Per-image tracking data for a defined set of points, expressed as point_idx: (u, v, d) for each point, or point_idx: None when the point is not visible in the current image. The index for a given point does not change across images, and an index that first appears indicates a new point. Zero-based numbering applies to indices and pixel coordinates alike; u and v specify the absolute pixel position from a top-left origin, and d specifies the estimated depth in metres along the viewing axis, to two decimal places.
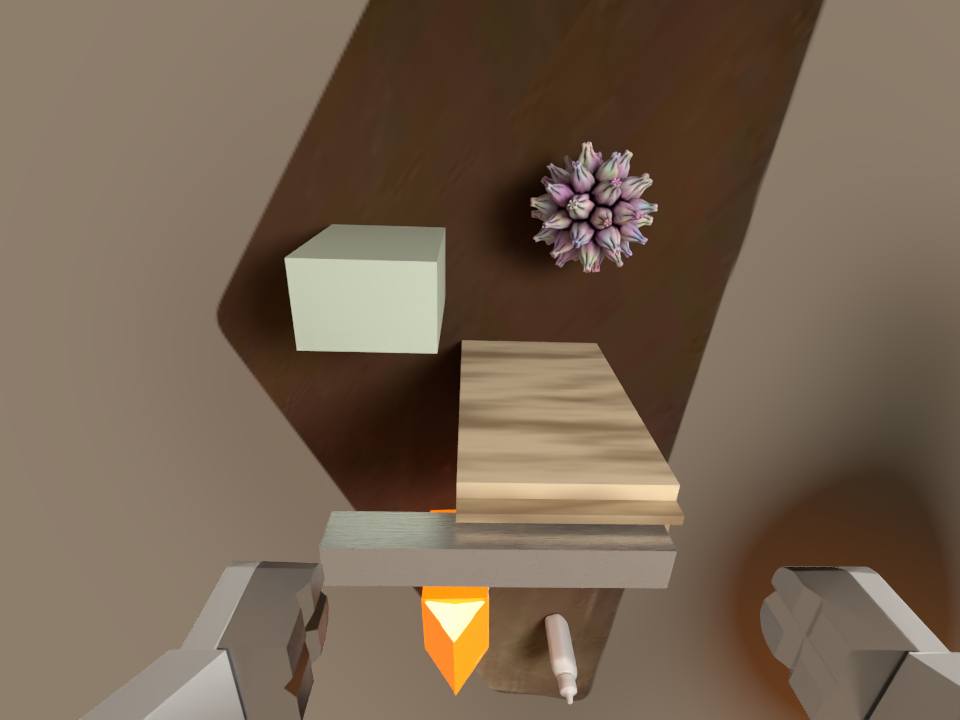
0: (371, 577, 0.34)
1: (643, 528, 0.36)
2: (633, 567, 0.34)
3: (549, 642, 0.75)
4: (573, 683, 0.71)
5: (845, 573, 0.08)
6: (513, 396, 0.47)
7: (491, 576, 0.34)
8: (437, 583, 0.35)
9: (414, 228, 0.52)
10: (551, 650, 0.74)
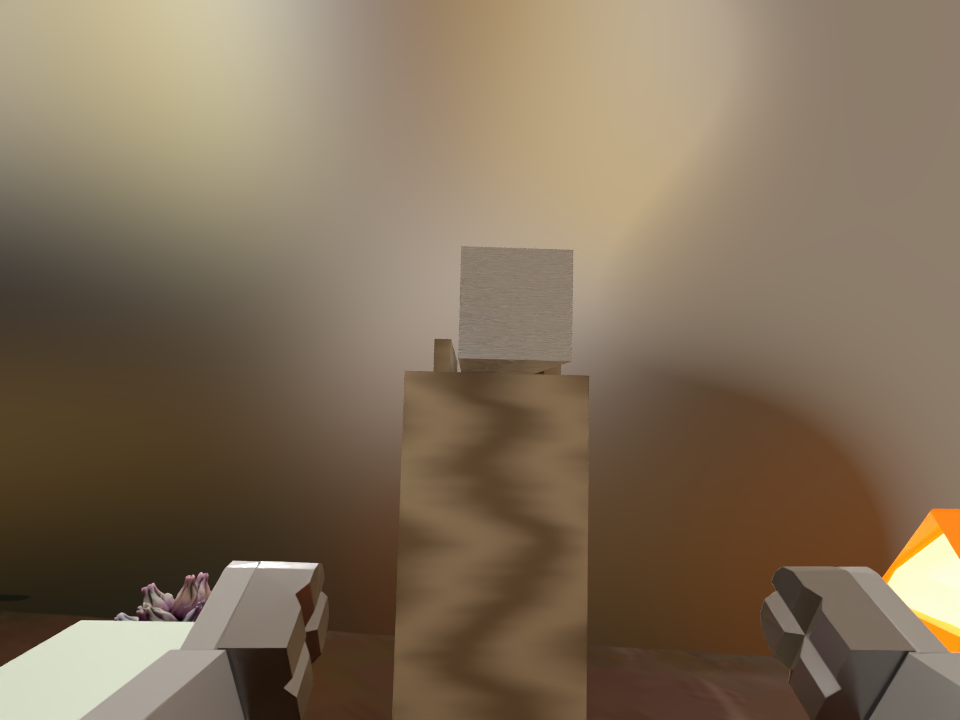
0: None
1: None
2: None
3: None
4: None
5: (845, 573, 0.08)
6: None
7: None
8: None
9: None
10: None
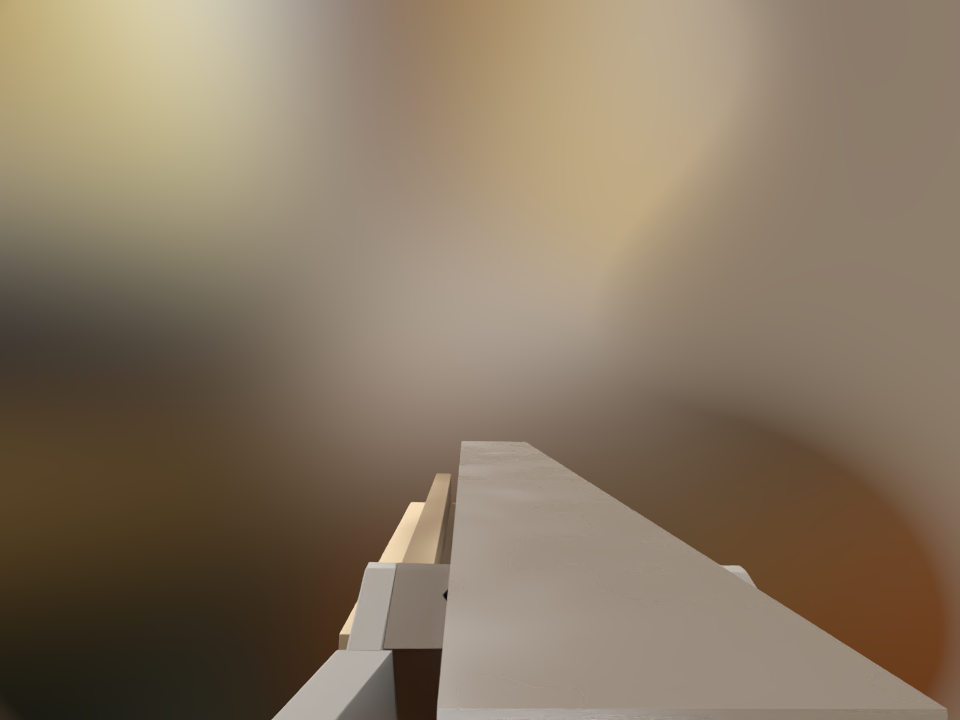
0: (650, 559, 0.07)
1: None
2: (492, 445, 0.25)
3: None
4: None
5: None
6: None
7: (542, 473, 0.15)
8: (598, 497, 0.11)
9: None
10: None
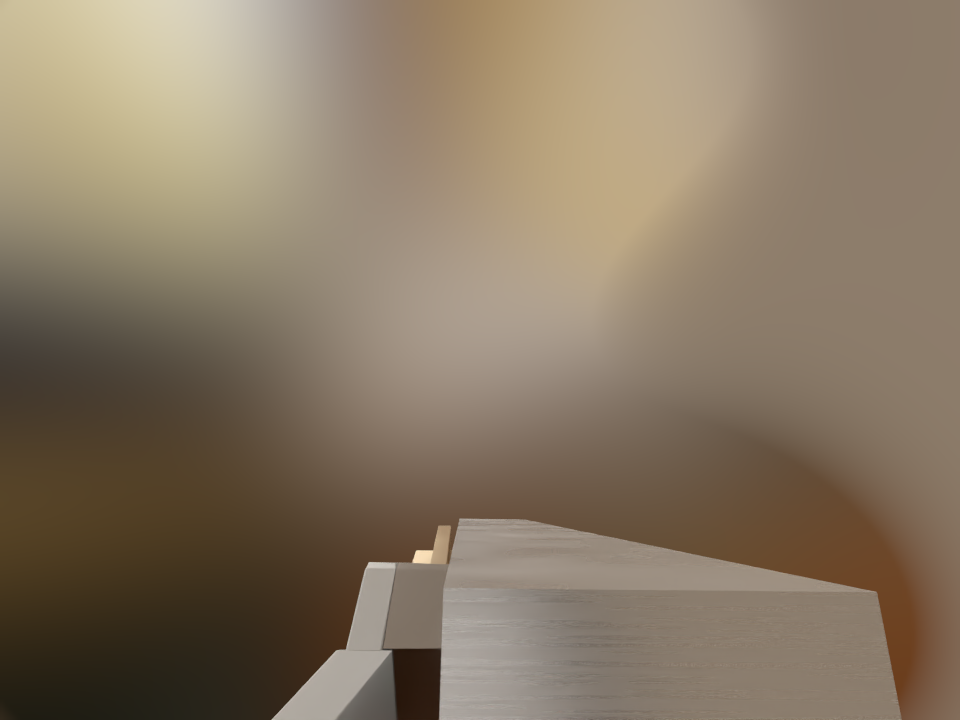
0: (637, 553, 0.07)
1: None
2: (491, 520, 0.24)
3: None
4: None
5: None
6: None
7: (539, 529, 0.15)
8: (593, 536, 0.12)
9: None
10: None
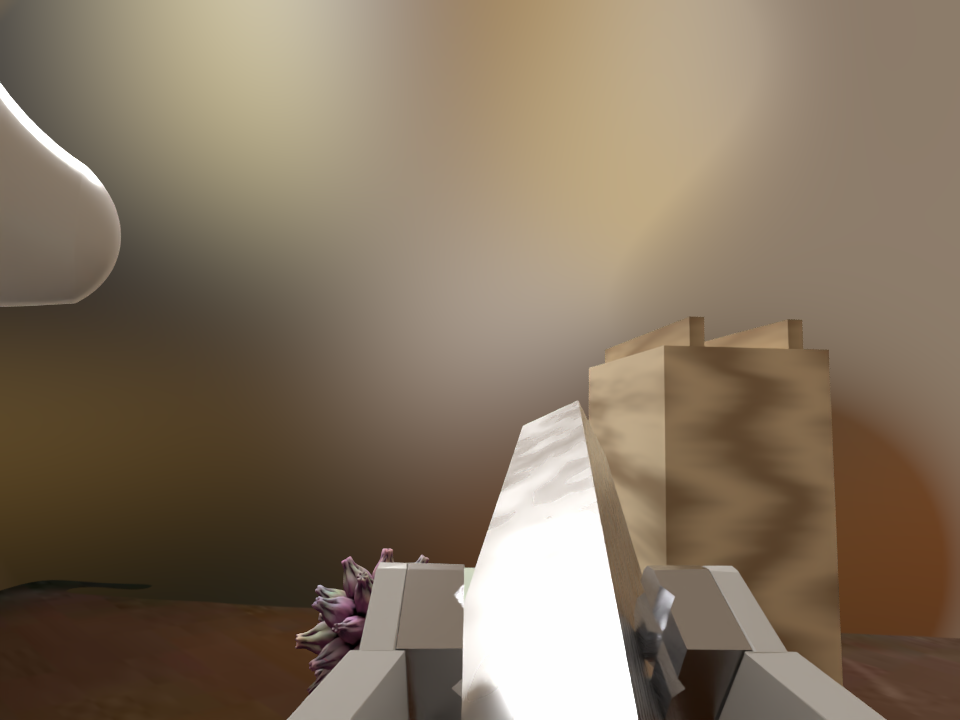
0: (573, 645, 0.08)
1: None
2: (545, 425, 0.26)
3: None
4: None
5: (705, 572, 0.08)
6: None
7: (562, 480, 0.16)
8: (587, 519, 0.12)
9: None
10: None
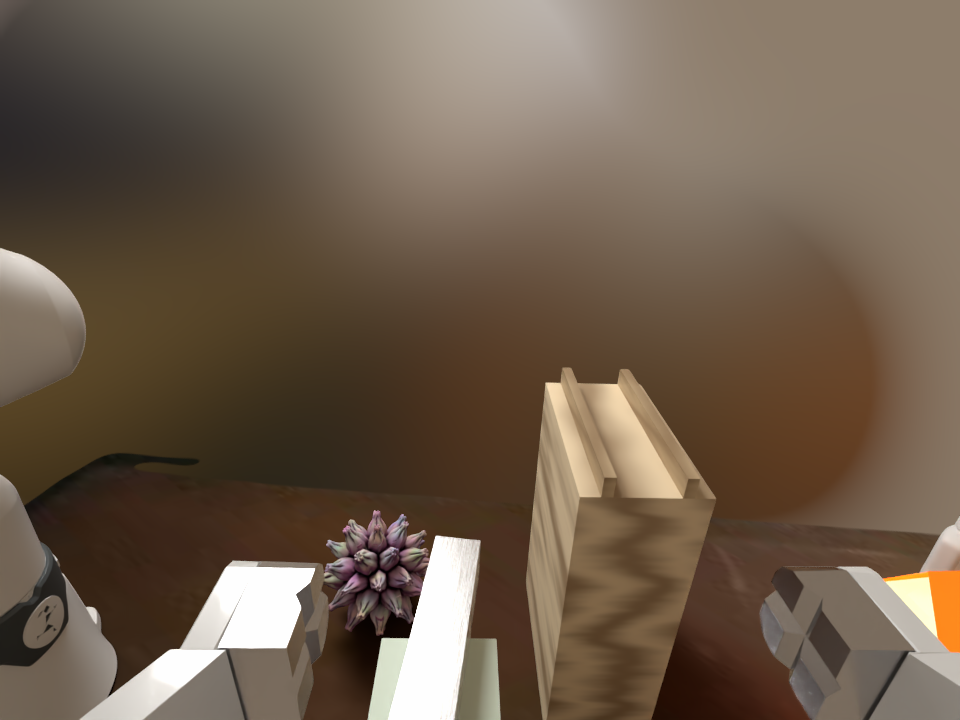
0: None
1: None
2: None
3: None
4: None
5: (845, 573, 0.08)
6: (550, 573, 0.42)
7: None
8: None
9: None
10: (955, 561, 0.55)
